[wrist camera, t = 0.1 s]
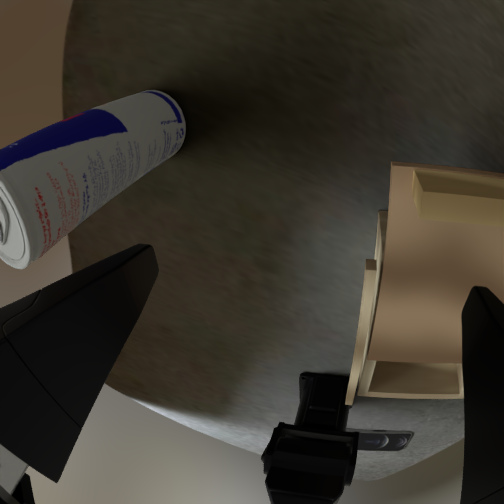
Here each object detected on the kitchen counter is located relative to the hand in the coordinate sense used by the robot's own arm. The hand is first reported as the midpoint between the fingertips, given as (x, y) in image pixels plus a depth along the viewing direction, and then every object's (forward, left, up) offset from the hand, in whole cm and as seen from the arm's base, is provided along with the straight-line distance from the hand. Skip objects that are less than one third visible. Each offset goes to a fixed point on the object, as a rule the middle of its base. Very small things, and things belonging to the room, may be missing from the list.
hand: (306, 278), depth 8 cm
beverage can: (+2, +13, -15) cm, 20 cm away
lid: (-6, -8, -8) cm, 13 cm away
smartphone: (-42, -6, -15) cm, 45 cm away
